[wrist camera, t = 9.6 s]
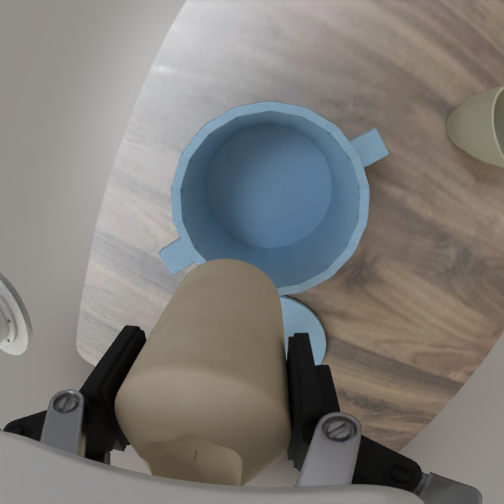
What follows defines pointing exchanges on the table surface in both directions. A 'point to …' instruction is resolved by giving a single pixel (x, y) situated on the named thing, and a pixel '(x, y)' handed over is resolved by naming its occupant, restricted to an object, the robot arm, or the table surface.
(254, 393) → the candle
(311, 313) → the lid
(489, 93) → the mug
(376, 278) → the table surface
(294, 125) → the pot
